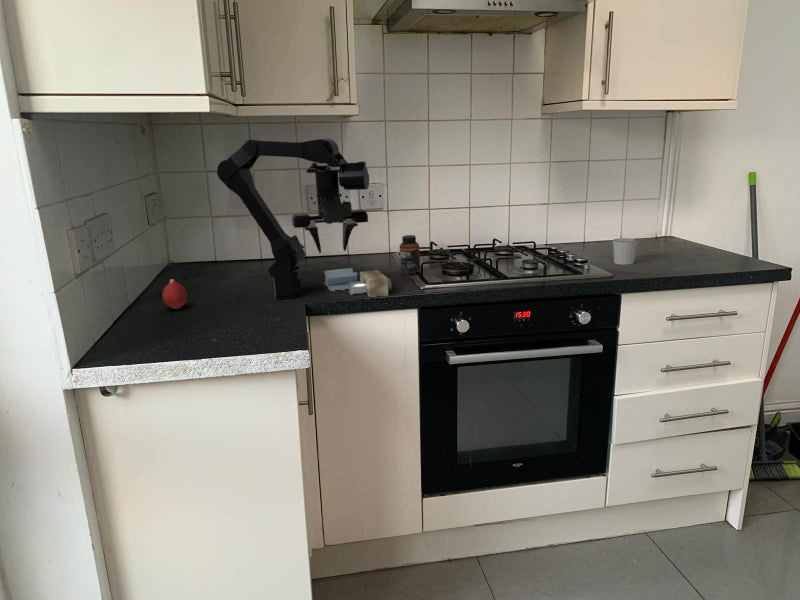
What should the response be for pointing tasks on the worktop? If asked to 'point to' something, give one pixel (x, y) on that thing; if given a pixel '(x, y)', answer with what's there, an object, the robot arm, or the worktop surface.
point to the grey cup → (624, 250)
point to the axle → (363, 287)
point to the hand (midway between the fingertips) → (332, 251)
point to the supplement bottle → (409, 255)
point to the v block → (339, 278)
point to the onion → (174, 295)
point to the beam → (375, 283)
